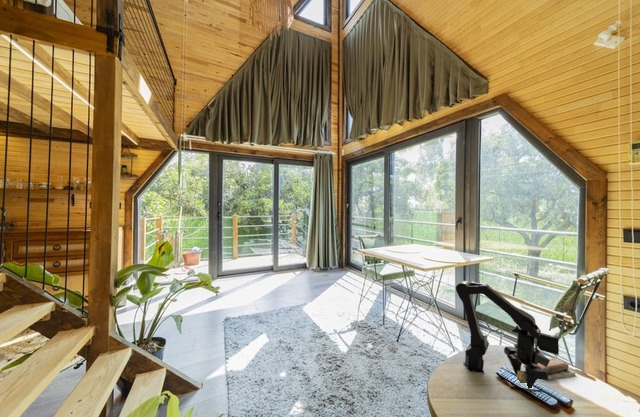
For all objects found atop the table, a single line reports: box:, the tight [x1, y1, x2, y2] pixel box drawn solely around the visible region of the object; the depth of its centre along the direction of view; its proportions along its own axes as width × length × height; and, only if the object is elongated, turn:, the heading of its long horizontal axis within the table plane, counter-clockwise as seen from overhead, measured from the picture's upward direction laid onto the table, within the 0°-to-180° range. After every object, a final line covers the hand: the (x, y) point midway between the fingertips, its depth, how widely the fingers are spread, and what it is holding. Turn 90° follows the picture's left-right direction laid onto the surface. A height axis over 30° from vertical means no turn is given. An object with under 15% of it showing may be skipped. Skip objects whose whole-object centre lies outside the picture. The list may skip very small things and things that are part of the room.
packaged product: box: [523, 357, 576, 381], centre depth 121 cm, size 18×5×10 cm
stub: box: [505, 370, 526, 388], centre depth 110 cm, size 12×3×6 cm, turn 84°
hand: (523, 382), depth 110 cm, fingers open, 7 cm apart
